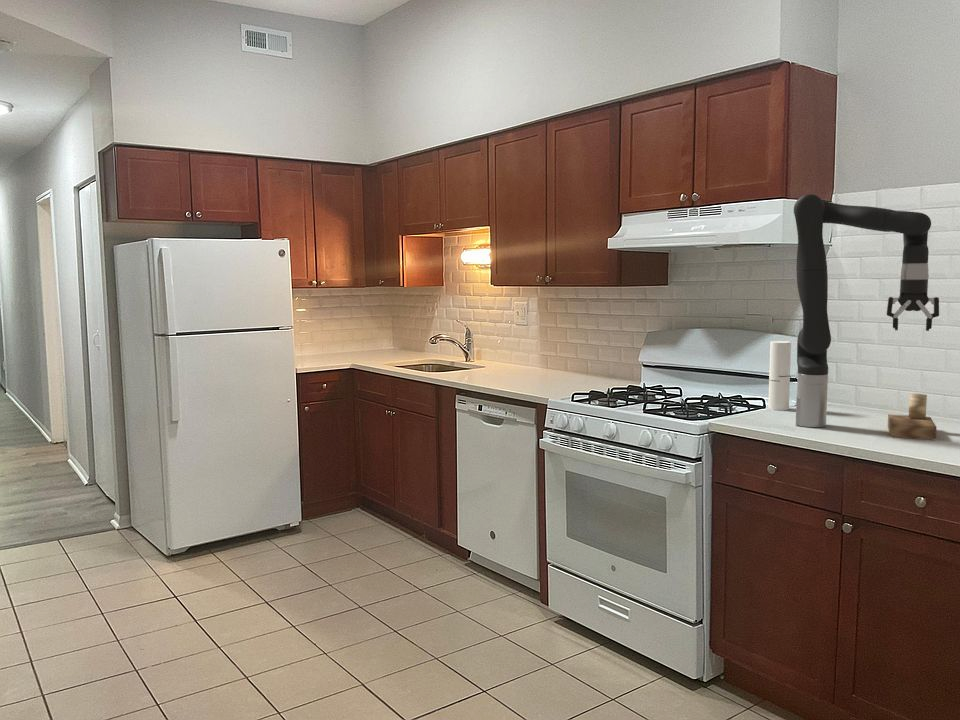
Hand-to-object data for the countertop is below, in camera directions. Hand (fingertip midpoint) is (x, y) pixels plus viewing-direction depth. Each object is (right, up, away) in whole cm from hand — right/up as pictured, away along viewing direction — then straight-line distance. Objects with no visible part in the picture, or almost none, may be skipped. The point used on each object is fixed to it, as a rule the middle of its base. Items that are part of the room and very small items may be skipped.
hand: (911, 330), depth 246 cm
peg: (+4, -31, +5) cm, 32 cm away
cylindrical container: (-24, -28, +47) cm, 60 cm away
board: (0, -32, +1) cm, 32 cm away
